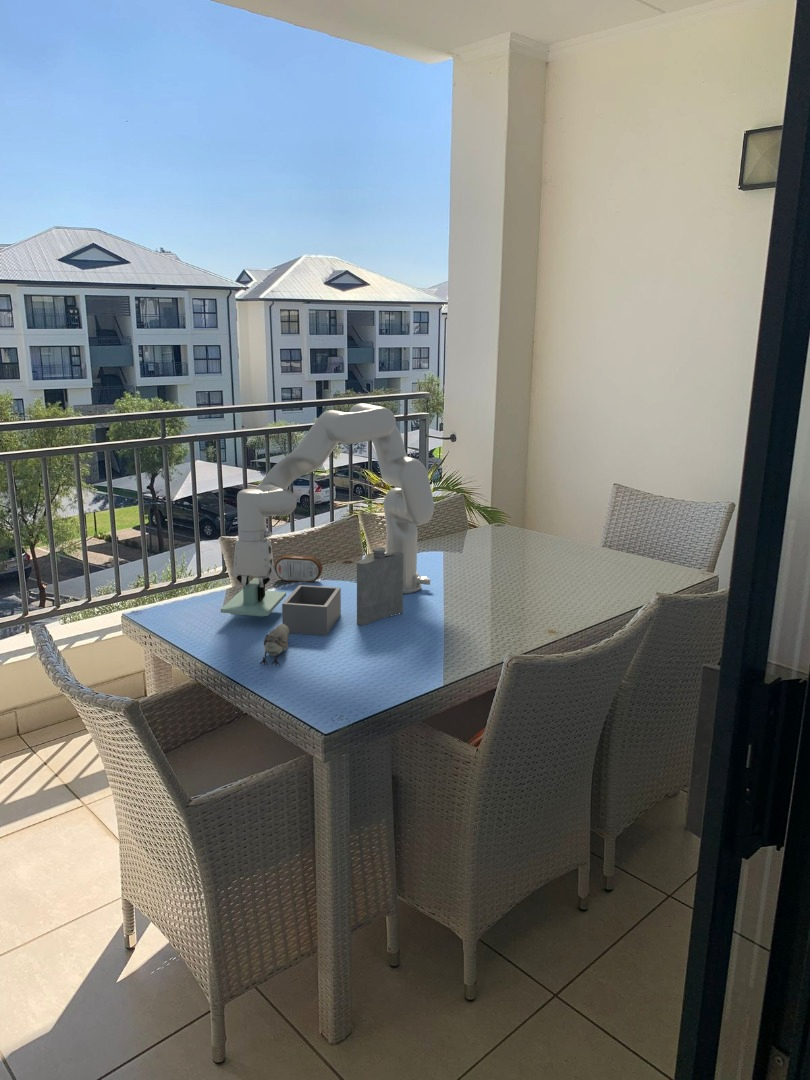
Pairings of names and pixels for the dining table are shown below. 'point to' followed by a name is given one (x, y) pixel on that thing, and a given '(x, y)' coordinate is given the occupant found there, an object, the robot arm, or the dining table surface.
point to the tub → (312, 609)
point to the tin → (298, 568)
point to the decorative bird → (276, 642)
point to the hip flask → (379, 586)
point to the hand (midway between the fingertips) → (254, 598)
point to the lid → (253, 601)
